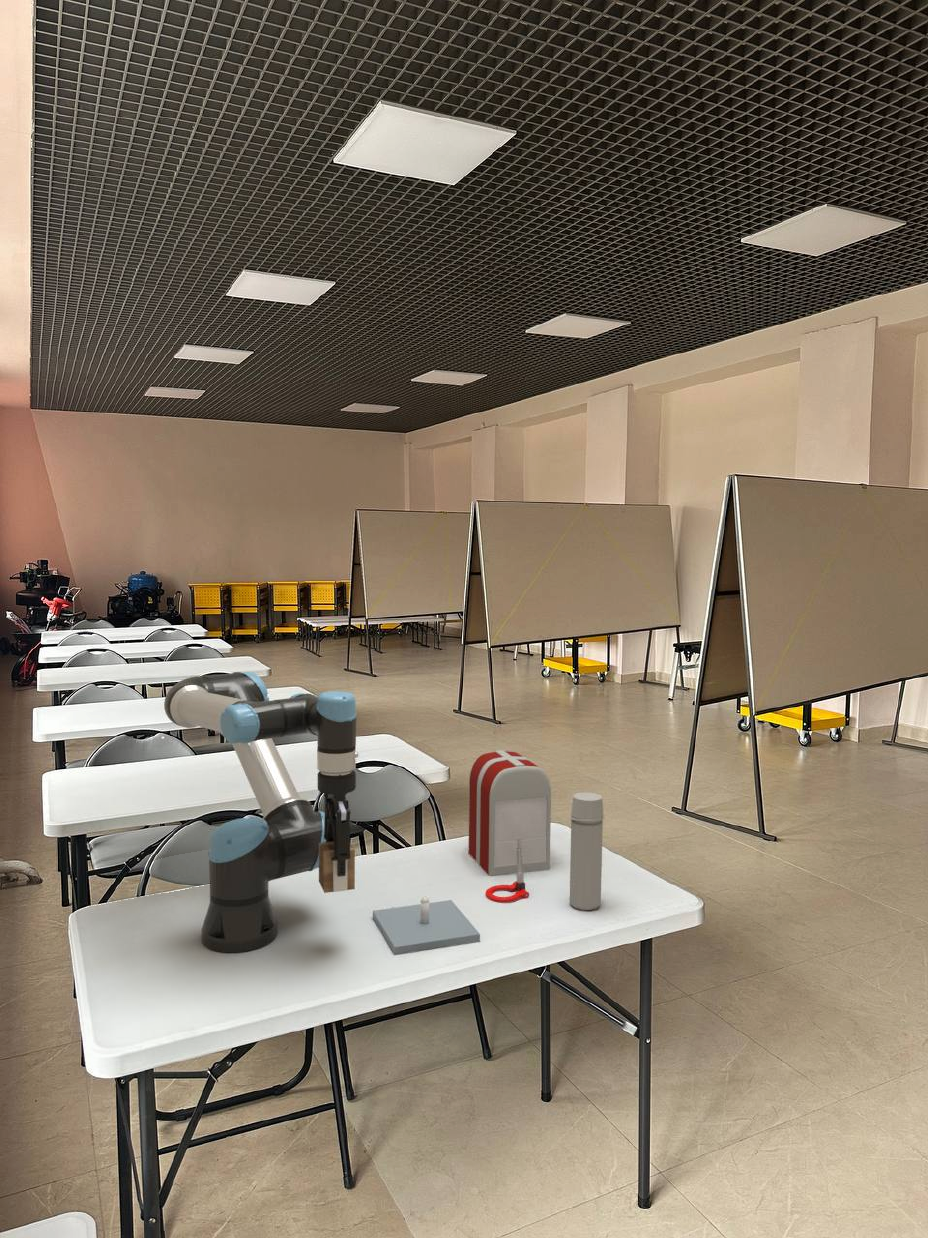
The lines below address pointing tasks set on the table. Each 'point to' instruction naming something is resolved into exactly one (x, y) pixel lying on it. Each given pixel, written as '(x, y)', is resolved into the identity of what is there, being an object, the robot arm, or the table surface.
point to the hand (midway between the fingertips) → (336, 883)
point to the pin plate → (425, 926)
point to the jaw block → (327, 867)
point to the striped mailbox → (509, 813)
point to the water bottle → (586, 851)
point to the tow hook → (517, 885)
